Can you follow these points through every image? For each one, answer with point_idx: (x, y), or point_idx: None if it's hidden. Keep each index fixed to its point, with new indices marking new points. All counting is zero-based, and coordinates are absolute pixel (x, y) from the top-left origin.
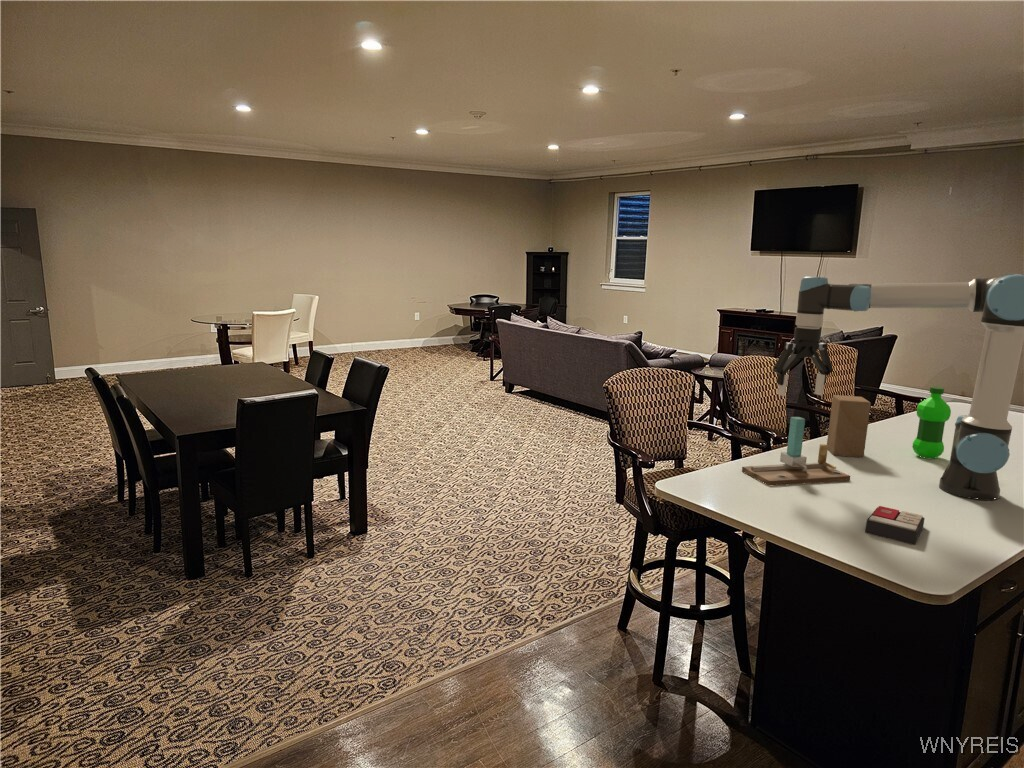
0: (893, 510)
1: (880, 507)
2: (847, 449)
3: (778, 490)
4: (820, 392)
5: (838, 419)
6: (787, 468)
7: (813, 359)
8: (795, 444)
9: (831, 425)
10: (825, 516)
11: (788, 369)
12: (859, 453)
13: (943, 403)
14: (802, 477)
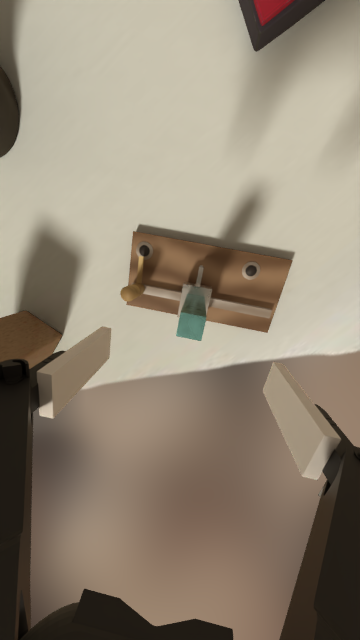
0: None
1: (274, 6)
2: (38, 327)
3: (295, 236)
4: (105, 334)
5: None
6: None
7: (29, 546)
8: (201, 301)
9: None
10: (349, 86)
11: (349, 480)
12: (26, 315)
13: None
14: (220, 254)
